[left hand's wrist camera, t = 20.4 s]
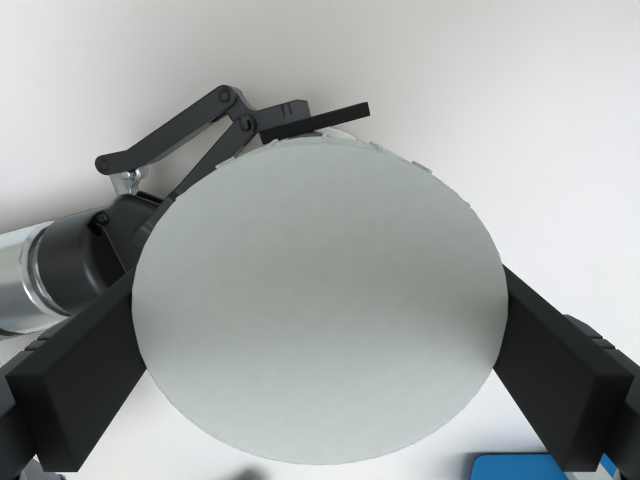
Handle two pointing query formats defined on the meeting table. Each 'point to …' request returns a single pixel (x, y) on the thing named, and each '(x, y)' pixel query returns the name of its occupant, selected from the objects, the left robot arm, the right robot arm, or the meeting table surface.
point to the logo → (534, 468)
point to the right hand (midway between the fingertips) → (382, 192)
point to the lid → (319, 302)
